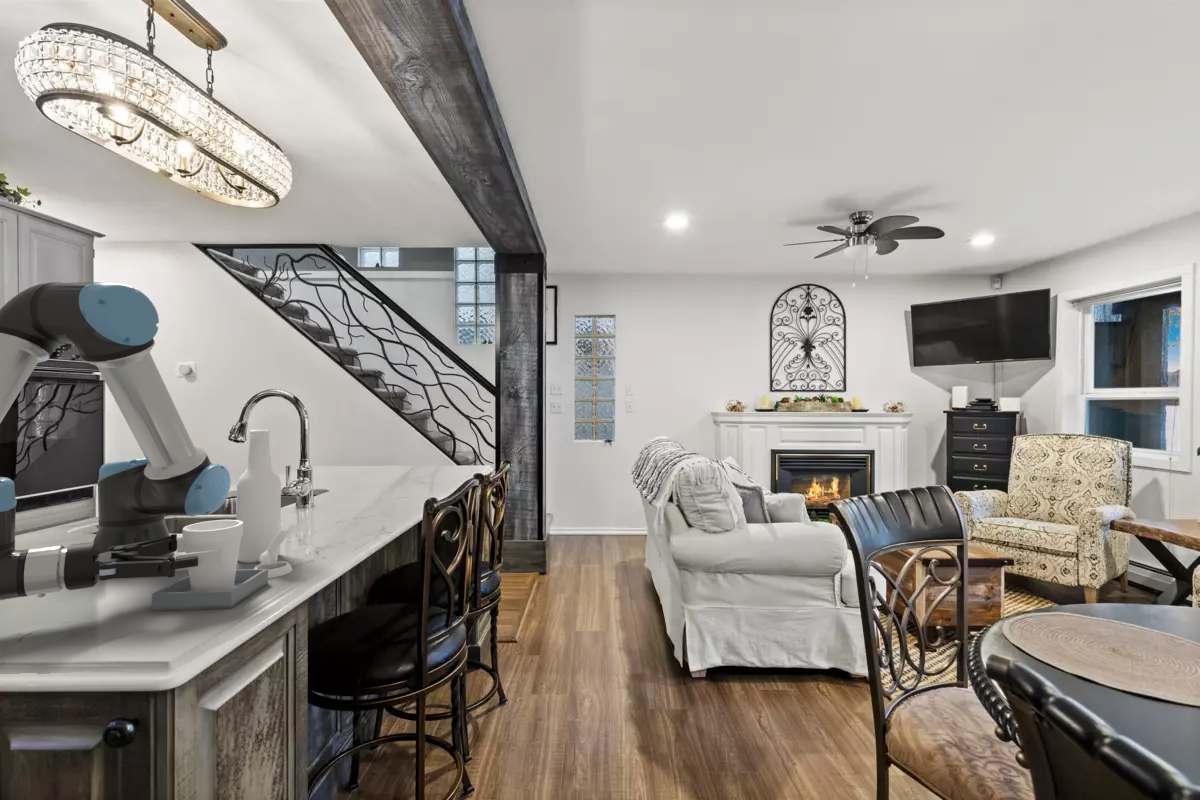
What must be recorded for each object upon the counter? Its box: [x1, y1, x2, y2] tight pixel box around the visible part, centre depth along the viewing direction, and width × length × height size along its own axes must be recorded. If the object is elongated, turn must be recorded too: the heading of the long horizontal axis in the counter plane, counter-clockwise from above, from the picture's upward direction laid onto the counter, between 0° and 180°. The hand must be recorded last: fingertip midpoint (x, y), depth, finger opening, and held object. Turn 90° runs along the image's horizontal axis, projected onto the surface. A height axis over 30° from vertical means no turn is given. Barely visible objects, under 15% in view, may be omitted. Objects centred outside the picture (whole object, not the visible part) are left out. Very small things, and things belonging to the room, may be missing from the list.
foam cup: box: [182, 519, 243, 592], centre depth 105 cm, size 10×9×13 cm
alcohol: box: [235, 429, 282, 564], centre depth 129 cm, size 9×9×30 cm
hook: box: [253, 526, 293, 579], centre depth 119 cm, size 8×12×7 cm
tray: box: [151, 568, 269, 612], centre depth 105 cm, size 13×13×3 cm
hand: (219, 548), depth 105 cm, fingers open, 13 cm apart
